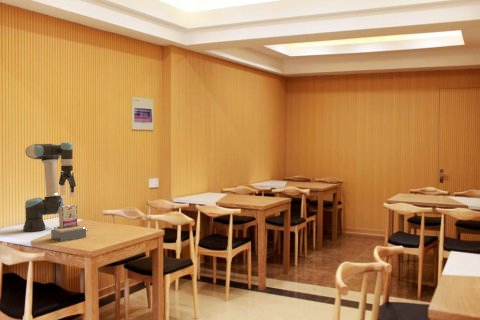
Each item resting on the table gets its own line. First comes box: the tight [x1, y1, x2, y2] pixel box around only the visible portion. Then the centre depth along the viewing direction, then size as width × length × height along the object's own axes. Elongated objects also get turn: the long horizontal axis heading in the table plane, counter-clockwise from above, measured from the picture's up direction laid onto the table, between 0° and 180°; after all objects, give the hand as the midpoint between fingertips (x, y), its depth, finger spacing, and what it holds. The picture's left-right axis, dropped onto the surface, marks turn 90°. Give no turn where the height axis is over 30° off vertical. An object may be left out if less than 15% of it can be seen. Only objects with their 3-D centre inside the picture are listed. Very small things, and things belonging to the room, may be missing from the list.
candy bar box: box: [58, 204, 78, 229], centre depth 313 cm, size 11×5×16 cm, turn 145°
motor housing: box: [50, 223, 89, 243], centre depth 315 cm, size 14×23×8 cm, turn 137°
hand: (67, 195), depth 314 cm, fingers open, 13 cm apart
